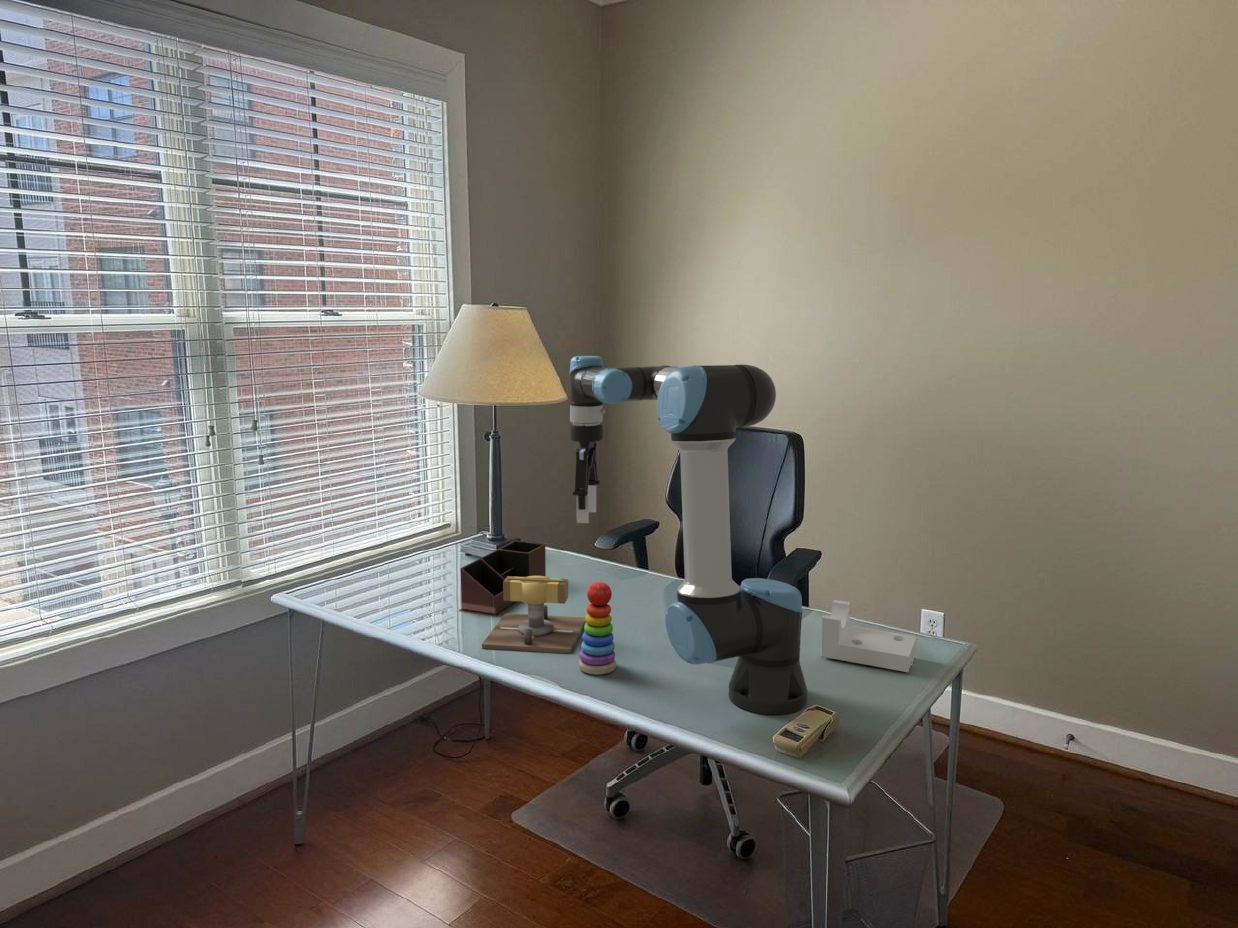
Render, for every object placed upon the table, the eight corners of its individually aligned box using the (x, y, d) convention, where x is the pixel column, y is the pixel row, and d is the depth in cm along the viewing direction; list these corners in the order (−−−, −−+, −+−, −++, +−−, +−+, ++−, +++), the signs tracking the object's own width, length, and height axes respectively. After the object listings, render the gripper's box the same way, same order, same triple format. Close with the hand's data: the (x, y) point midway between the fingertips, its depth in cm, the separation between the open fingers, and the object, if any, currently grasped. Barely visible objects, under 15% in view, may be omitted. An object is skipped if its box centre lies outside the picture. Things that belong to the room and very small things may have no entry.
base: (570, 653, 195) (570, 617, 193) (481, 648, 198) (481, 612, 196) (586, 621, 214) (586, 588, 213) (505, 617, 217) (504, 584, 216)
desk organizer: (548, 583, 244) (547, 543, 242) (495, 617, 217) (494, 573, 215) (514, 578, 248) (513, 539, 246) (458, 612, 221) (457, 568, 219)
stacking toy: (602, 679, 182) (603, 591, 178) (570, 670, 186) (570, 584, 183) (623, 666, 188) (624, 581, 185) (591, 658, 192) (591, 574, 189)
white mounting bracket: (821, 661, 193) (822, 617, 190) (832, 642, 201) (833, 599, 198) (907, 677, 185) (910, 631, 182) (915, 656, 193) (918, 612, 190)
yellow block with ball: (569, 595, 207) (569, 575, 206) (563, 605, 200) (563, 585, 199) (509, 592, 209) (509, 573, 208) (501, 602, 202) (501, 582, 201)
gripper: (594, 430, 194) (594, 529, 198) (609, 417, 216) (609, 506, 220) (560, 429, 195) (561, 528, 199) (579, 416, 217) (579, 505, 221)
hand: (586, 517), depth 210 cm, fingers open, 10 cm apart
